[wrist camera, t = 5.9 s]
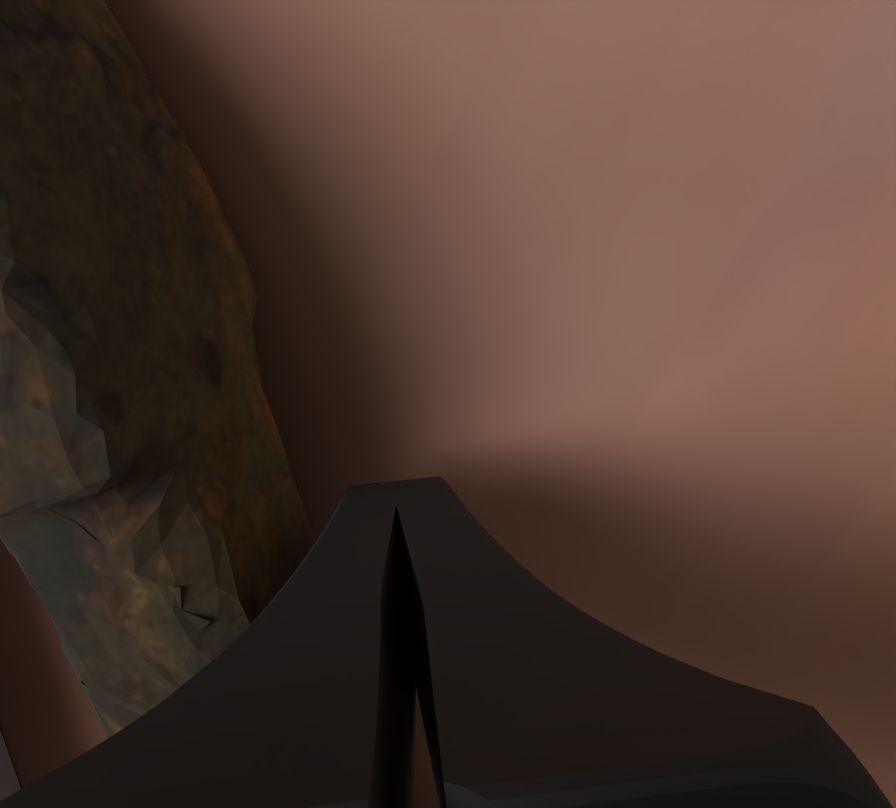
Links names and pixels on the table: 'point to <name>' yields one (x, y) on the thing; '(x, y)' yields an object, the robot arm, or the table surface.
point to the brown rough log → (127, 373)
